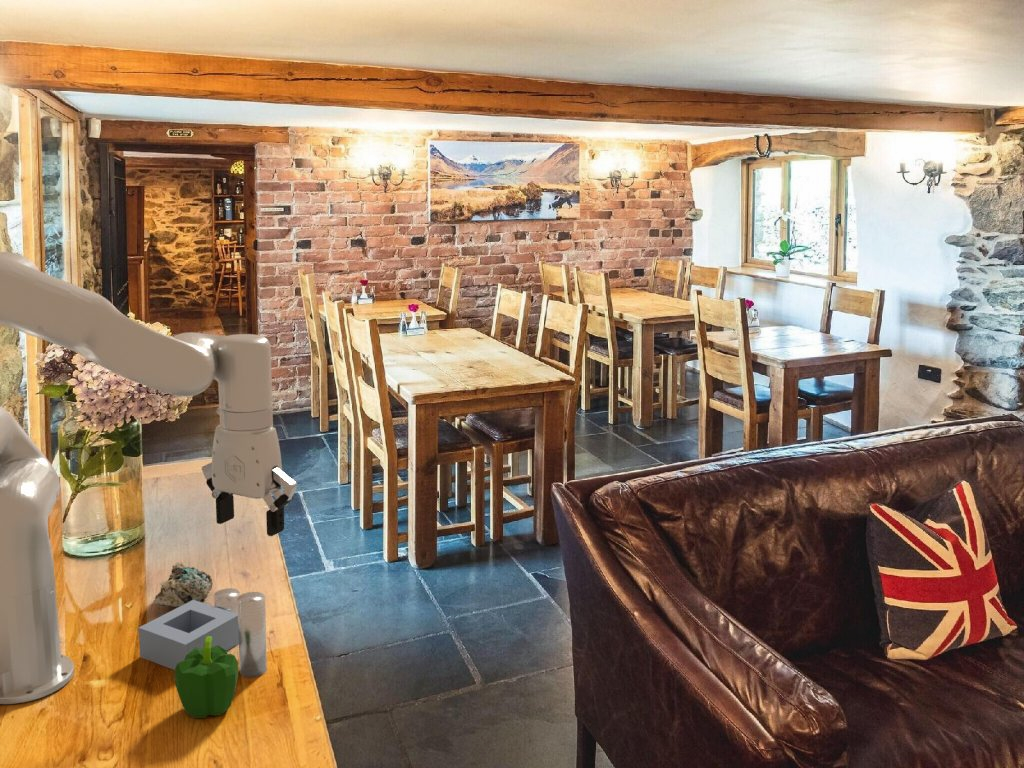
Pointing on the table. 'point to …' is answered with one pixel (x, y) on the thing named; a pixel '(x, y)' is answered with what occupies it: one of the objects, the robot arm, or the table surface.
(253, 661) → the long pin
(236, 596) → the short pin
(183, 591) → the mineral specimen
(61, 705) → the table surface
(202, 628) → the hole block
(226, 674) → the bell pepper
